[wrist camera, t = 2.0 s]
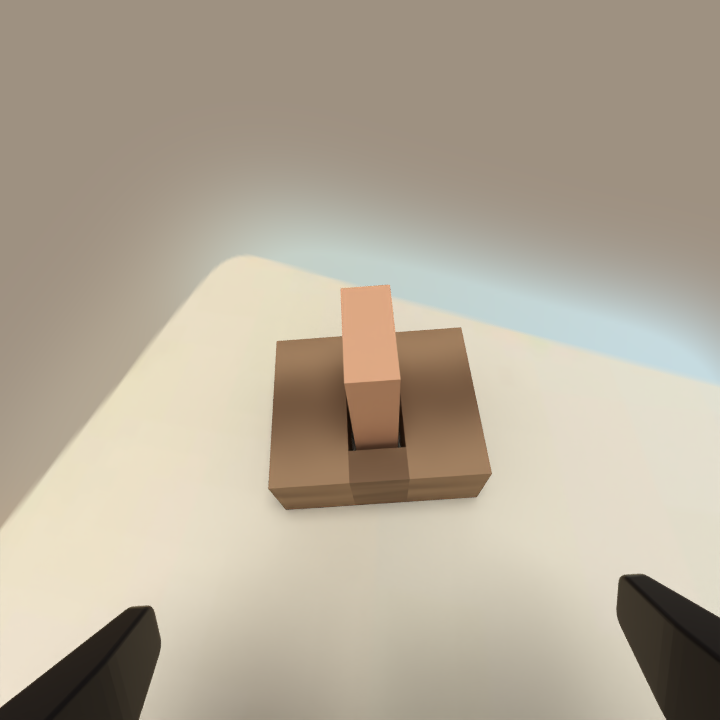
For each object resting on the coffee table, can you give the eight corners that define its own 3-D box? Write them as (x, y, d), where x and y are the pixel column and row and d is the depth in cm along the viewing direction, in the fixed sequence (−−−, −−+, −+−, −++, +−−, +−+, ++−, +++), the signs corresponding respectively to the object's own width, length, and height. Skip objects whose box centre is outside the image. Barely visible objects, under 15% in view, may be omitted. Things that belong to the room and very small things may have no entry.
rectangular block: (396, 468, 24) (400, 379, 16) (360, 470, 24) (344, 383, 16) (389, 396, 27) (389, 284, 18) (356, 398, 27) (340, 288, 18)
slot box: (476, 496, 23) (491, 473, 20) (285, 509, 23) (268, 488, 20) (452, 365, 27) (461, 327, 24) (290, 377, 28) (276, 341, 24)
